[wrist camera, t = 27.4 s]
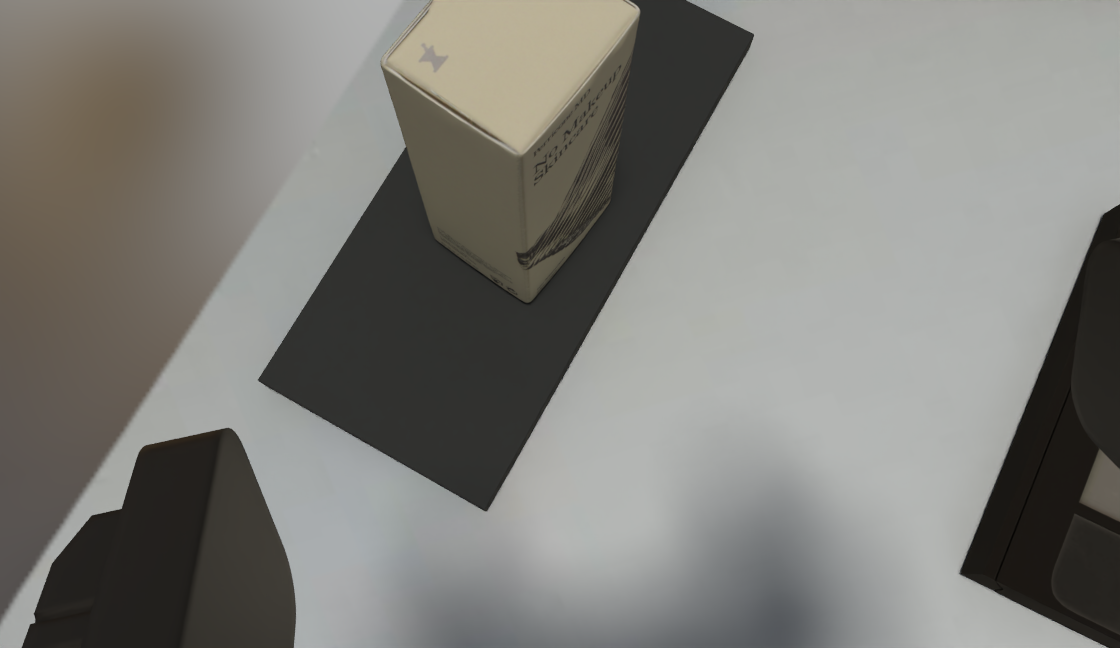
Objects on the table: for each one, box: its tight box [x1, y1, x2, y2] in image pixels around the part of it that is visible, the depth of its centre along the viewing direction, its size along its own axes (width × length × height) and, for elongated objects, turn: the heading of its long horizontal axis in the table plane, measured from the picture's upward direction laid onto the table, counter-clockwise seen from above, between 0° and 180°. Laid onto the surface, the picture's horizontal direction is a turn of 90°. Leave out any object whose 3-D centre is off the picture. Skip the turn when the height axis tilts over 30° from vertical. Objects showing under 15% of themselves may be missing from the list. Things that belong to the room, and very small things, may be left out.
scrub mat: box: [258, 0, 754, 511], centre depth 38 cm, size 20×9×1 cm, turn 151°
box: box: [381, 0, 640, 303], centre depth 31 cm, size 5×4×13 cm
